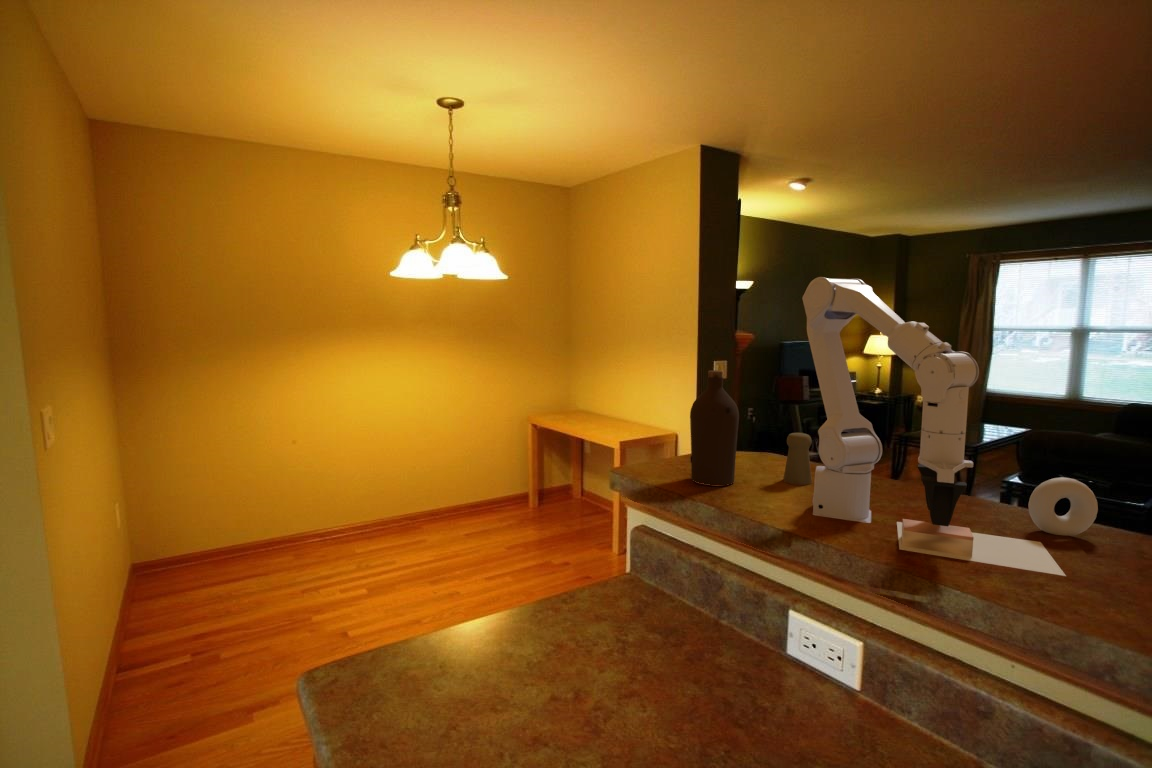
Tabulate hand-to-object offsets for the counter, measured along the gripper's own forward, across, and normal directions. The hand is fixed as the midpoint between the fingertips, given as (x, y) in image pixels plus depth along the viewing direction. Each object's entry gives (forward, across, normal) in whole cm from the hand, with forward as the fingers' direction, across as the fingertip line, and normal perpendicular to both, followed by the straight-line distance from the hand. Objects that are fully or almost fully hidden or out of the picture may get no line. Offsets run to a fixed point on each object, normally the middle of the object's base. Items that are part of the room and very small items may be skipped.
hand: (937, 517), depth 88 cm
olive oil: (+5, +23, +41) cm, 47 cm away
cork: (+5, +32, +24) cm, 40 cm away
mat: (+5, +3, -5) cm, 8 cm away
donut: (+6, +17, -19) cm, 26 cm away
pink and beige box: (+5, 0, 0) cm, 5 cm away
